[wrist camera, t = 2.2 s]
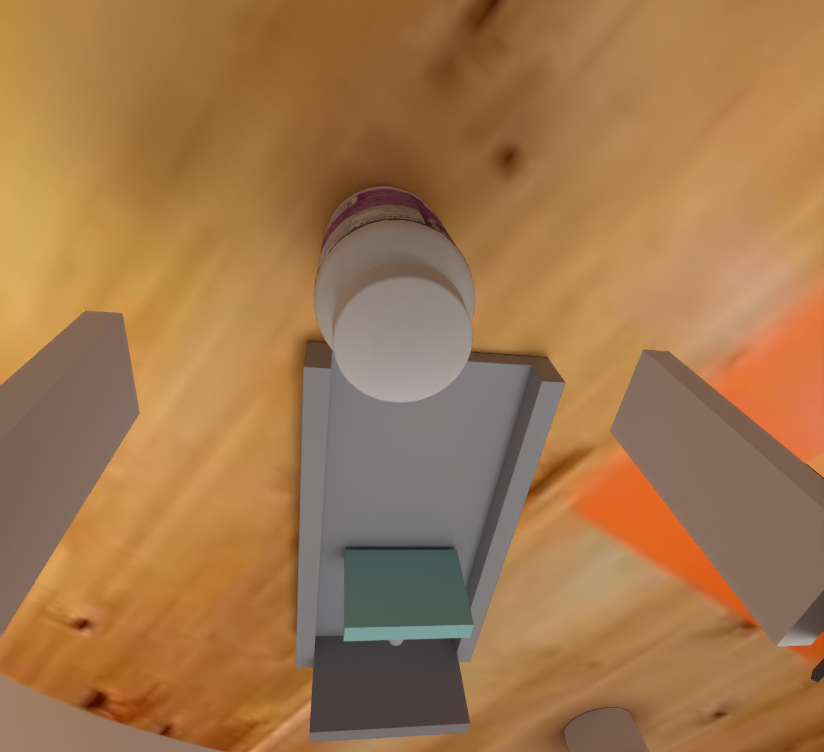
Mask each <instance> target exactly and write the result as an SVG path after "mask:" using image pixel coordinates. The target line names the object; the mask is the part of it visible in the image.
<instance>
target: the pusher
mask: <svg viewBox="0 0 824 752" xmlns="http://www.w3.org/2000/svg"><path fill="white" fill-rule="evenodd" d="M473 626H474V622H473V618H472V614H471V609H470V605H469V600H468V596H467V592H466V587H465V583H464V579H463V574H462V570H461V565H460V561H459V557H458V552H457V550H345V559H344V634H343V641H372V640H388V641H389V642H390V644H392V645H394V646H398V645H400V644H402V642H403V640H406V639H440V638H470V636H471V633H472V630H473Z"/></svg>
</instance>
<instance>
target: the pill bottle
mask: <svg viewBox="0 0 824 752" xmlns="http://www.w3.org/2000/svg"><path fill="white" fill-rule="evenodd" d="M314 307H315V314H316V320H317V323H318V326H319V329H320V331H321V333H322V335H323V337H324V339H325V341H326V342H327V344H328V345H329V346H330V348H331V349H332V350H333V352H334V356H335V359H336V362H337V364H338V366H339V369H340V371H341V372H342V374H343V375H344V377H345V378H346V379H347V380H348V381H349V382H350V383H351V384H352V385H353V386H354V387H355V388H357V389H358V390H360V391H361V392H362V393H364V394H366V395H368V396H370V397H373V398H375V399H379V400H383V401H388V402H413V401H417V400H421V399H425V398H427V397H430V396H432V395H434V394H436V393H438V392H440V391H441V390H443V389H444V388H446V387H447V386H448V385H449V384H450V383H451V382H453V381H454V380H455V379H456V378H457V377H458V375H459V374H460V372H461V371H462V370H463V368H464V366H465V365H466V363H467V361H468V358H469V355H470V352H471V347H472V341H473V330H472V324H471V321H472V318H473V314H474V308H475V289H474V283H473V279H472V276H471V273H470V270H469V267H468V264H467V262H466V260H465V258H464V257H463V255H462V254H461V252H460V251H459V249H458V248H457V246H456V245H455V243H454V242H453V240H452V239H451V237H450V236H449V234H448V233H447V231H446V230H445V228H444V227H443V225H442V223H441V222H440V220H439V219H438V217H437V216H436V215H435V213H434V212H433V211H432V210H431V208H430V207H429V206H428V205H427V204H426V203H425V202H424V201H422V200H421V199H420V198H419V197H417V196H416V195H414V194H412V193H410V192H408V191H405V190H402V189H399V188H395V187H389V186H379V187H372V188H368V189H364V190H361V191H359V192H357V193H355V194H353V195H352V196H350V197H349V198H347V199H346V200H345V201H344V202H342V203H341V204H340V205H339V207H338V208H337V209H336V210H335V212H334V213H333V215H332V216H331V218H330V221H329V223H328V225H327V227H326V230H325V235H324V238H323V243H322V248H321V253H320V259H319V265H318V270H317V277H316V280H315V287H314Z"/></svg>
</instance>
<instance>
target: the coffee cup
mask: <svg viewBox="0 0 824 752" xmlns="http://www.w3.org/2000/svg"><path fill="white" fill-rule="evenodd" d="M564 735H565V739H566V743H567V747H568V751H569V752H649V750H648V748H647V746H646V744H645V742H644V740H643V738H642V736H641V734H640V732H639V730H638V729H637V727H636V725H635V723H634V721H633V719H632V717H631V715H630V713H629V712H628V711H627V710H624V709H621V708H603V709H597V710H594V711H590V712H588V713H585V714H583V715H581V716H579V717H577V718H575V719H574V720H572V721H571V722H570V723H569V724H568V725H567V726H566V728H565V730H564Z"/></svg>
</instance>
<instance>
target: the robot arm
mask: <svg viewBox="0 0 824 752" xmlns="http://www.w3.org/2000/svg"><path fill="white" fill-rule="evenodd" d="M139 413H140V412H139V407H138V401H137V395H136V389H135V383H134V378H133V372H132V366H131V360H130V354H129V348H128V343H127V337H126V331H125V325H124V319H123V314H122V313H110V312H95V311H85V312H84V313H83V314H81V315H80V316H79V317H78V318H77V319H76V320H75V321H73V322H72V323H71V324H70V325H69V326H68V327H67V328H66V329H64V330H63V331H62V332H61V333H60V334H59V335H58V336H56V337H55V338H54V339H53V340H52V341H51V342H50V343H48V344H47V345H46V346H45V347H44V348H43V349H42V350H41V351H39V352H38V353H37V354H36V355H35V356H34V357H33V358H31V359H30V360H29V361H28V362H27V363H26V364H25V365H23V366H22V367H21V368H20V369H19V370H18V371H17V372H15V373H14V374H13V375H12V376H11V377H10V378H9V379H8V380H6V381H5V382H4V383H3V384H2V385H1V386H0V637H1V636H2V634H3V633H4V631H5V629H6V628H7V626H8V624H9V623H10V621H11V620H12V618H13V616H14V615H15V613H16V612H17V610H18V608H19V607H20V605H21V603H22V602H23V600H24V599H25V597H26V595H27V594H28V592H29V591H30V589H31V587H32V586H33V584H34V583H35V581H36V579H37V578H38V576H39V574H40V573H41V571H42V570H43V568H44V566H45V565H46V563H47V562H48V560H49V558H50V557H51V555H52V553H53V552H54V550H55V549H56V547H57V545H58V544H59V542H60V541H61V539H62V537H63V536H64V534H65V532H66V531H67V529H68V528H69V526H70V524H71V523H72V521H73V520H74V518H75V516H76V515H77V513H78V512H79V510H80V508H81V507H82V505H83V503H84V502H85V500H86V499H87V497H88V495H89V494H90V492H91V491H92V489H93V487H94V486H95V484H96V482H97V481H98V479H99V478H100V476H101V474H102V473H103V471H104V470H105V468H106V466H107V465H108V463H109V462H110V460H111V458H112V457H113V455H114V453H115V452H116V450H117V449H118V447H119V445H120V444H121V442H122V441H123V439H124V437H125V436H126V434H127V432H128V431H129V429H130V428H131V426H132V424H133V423H134V421H135V420H136V418H137V416H138V415H139ZM610 432H611V433H612V434H613V435H614V437H615V438H616V439H617V441H618V442H619V443H620V445H621V446H622V447H623V448H624V450H625V451H626V452H627V454H628V455H629V456H630V458H631V459H632V460H633V461H634V463H635V464H636V465H637V467H638V468H639V469H640V471H641V472H642V473H643V474H644V476H645V477H646V478H647V480H648V481H649V482H650V484H651V485H652V486H653V487H654V489H655V490H656V491H657V493H658V494H659V495H660V497H661V498H662V499H663V500H664V502H665V503H666V504H667V506H668V507H669V508H670V510H671V511H672V512H673V513H674V515H675V516H676V517H677V519H678V520H679V521H680V523H681V524H682V525H683V526H684V528H685V529H686V530H687V532H688V533H689V534H690V536H691V537H692V538H693V539H694V541H695V542H696V543H697V545H698V546H699V547H700V549H701V550H702V551H703V552H704V554H705V555H706V556H707V558H708V559H709V560H710V562H711V563H712V564H713V565H714V567H715V568H716V569H717V571H718V572H719V573H720V575H721V576H722V577H723V578H724V580H725V581H726V582H727V584H728V585H729V586H730V588H731V589H732V590H733V591H734V593H735V594H736V595H737V597H738V598H739V599H740V601H741V602H742V603H743V604H744V606H745V607H746V608H747V610H748V611H749V612H750V614H751V615H752V616H753V617H754V619H755V620H756V621H757V623H758V624H759V625H760V627H761V628H762V629H763V631H764V632H765V633H766V634H767V636H768V637H769V638H770V640H771V641H772V642H773V644H774V645H775V646H776V647H777V646H799V645H811V644H812V643H813V642H814V641H815V640H816V639H817V638H818V636H819V635H820V634H821V633H822V632H823V631H824V478H823V477H822V476H821V475H819V474H818V473H817V472H816V471H815V470H813V469H812V468H811V467H810V466H809V465H807V464H805V463H804V462H802V461H801V460H800V459H799V458H798V457H796V456H795V455H794V454H793V453H792V452H790V451H789V450H788V449H787V448H785V447H784V446H783V445H782V444H781V443H779V442H778V441H777V440H776V439H775V438H773V437H772V436H771V435H770V434H768V433H767V432H766V431H765V430H764V429H762V428H761V427H760V426H759V425H757V424H756V423H755V422H754V421H753V420H751V419H750V418H749V417H748V416H747V415H745V414H744V413H743V412H742V411H740V410H739V409H738V408H737V407H736V406H734V405H733V404H732V403H731V402H729V401H728V400H727V399H726V398H725V397H723V396H722V395H721V394H720V393H719V392H717V391H716V390H715V389H714V388H712V387H711V386H710V385H709V384H708V383H706V382H705V381H704V380H703V379H702V378H700V377H699V376H698V375H697V374H695V373H694V372H693V371H692V370H691V369H689V368H688V367H687V366H686V365H684V364H683V363H682V362H681V361H680V360H678V359H677V358H676V357H675V356H674V355H672V354H671V353H670V352H669V351H656V350H643V352H642V354H641V357H640V359H639V361H638V364H637V366H636V369H635V371H634V374H633V376H632V379H631V381H630V383H629V386H628V388H627V391H626V393H625V396H624V398H623V400H622V403H621V405H620V408H619V410H618V413H617V415H616V418H615V420H614V422H613V425H612V427H611V430H610ZM823 677H824V659H823V660H822V661H821V662H820V663H819V664H818V665H817V666H816V667H815V668H814V669H813V671H812V676H811V679H812V680H814V681H816V682H819V681H820V680H821V679H822V678H823Z"/></svg>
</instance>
